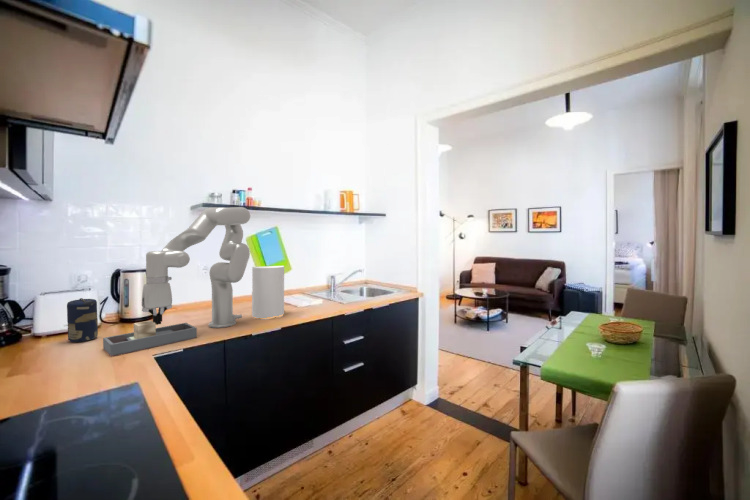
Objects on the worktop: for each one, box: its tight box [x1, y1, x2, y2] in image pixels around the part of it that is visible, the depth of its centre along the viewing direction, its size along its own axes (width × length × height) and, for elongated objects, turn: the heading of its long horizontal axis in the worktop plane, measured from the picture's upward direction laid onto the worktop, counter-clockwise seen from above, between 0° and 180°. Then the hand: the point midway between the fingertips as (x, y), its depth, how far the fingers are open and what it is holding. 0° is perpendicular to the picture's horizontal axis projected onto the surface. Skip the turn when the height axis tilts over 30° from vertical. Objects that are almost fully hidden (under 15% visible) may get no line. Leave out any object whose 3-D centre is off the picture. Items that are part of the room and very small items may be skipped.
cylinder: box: [251, 265, 285, 318], centre depth 183 cm, size 17×17×28 cm
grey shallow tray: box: [102, 322, 198, 358], centre depth 135 cm, size 30×12×4 cm, turn 140°
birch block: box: [133, 320, 157, 339], centre depth 133 cm, size 6×6×6 cm
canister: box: [66, 297, 99, 343], centre depth 138 cm, size 10×10×18 cm
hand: (157, 323), depth 136 cm, fingers closed
